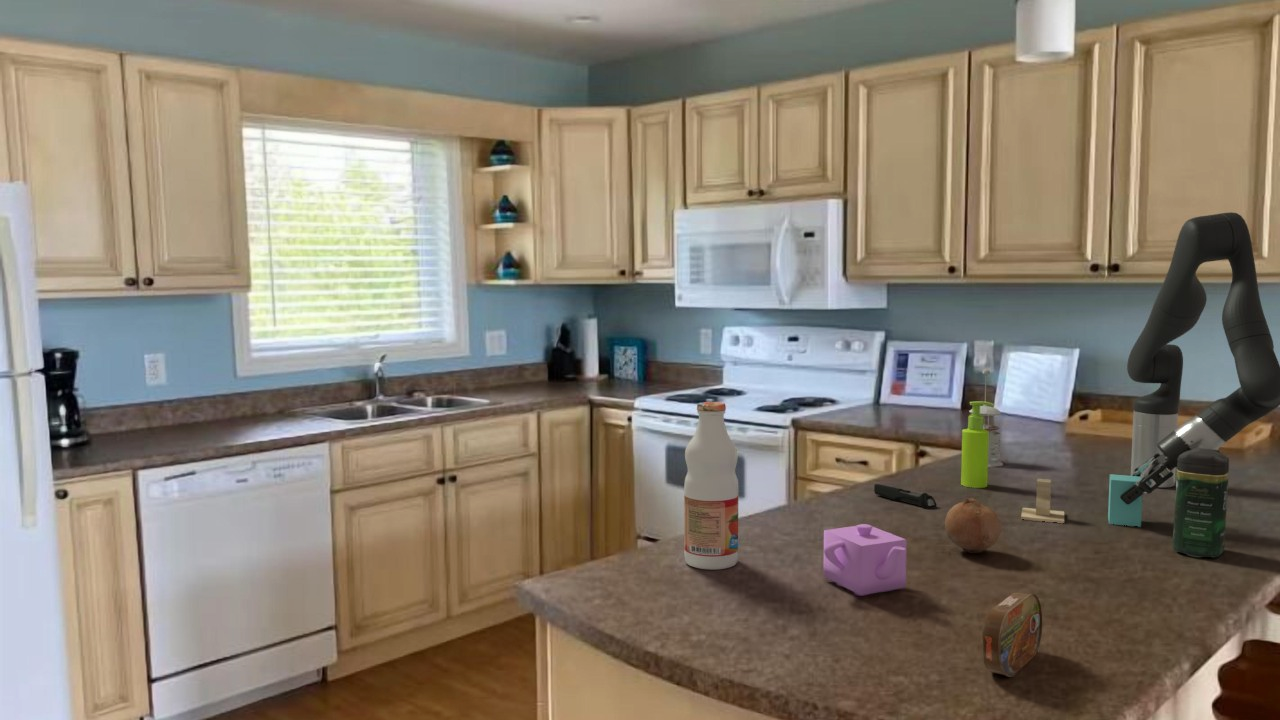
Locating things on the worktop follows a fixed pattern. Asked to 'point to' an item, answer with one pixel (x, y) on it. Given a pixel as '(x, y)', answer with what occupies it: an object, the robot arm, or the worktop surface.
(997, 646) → the tin
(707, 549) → the fruit juice
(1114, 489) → the teal tower prism
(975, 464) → the soap dispenser
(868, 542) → the teapot
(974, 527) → the onion
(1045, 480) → the post
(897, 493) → the electric trimmer
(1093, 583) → the worktop surface
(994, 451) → the french press
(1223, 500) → the coffee jar
